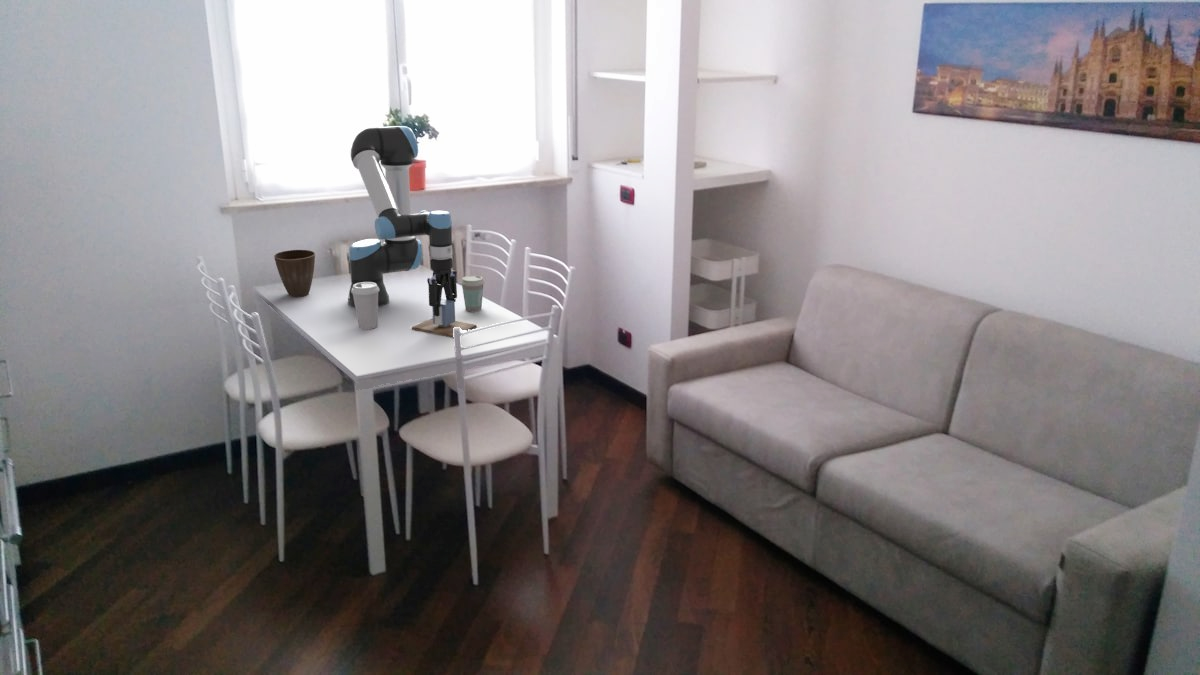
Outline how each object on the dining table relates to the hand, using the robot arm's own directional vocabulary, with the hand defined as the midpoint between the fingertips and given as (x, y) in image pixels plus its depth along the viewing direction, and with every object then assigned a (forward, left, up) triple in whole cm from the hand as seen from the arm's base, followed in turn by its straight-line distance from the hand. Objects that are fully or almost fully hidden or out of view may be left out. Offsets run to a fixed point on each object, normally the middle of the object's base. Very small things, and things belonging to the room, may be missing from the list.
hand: (444, 321), depth 319 cm
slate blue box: (0, 0, 0) cm, 0 cm away
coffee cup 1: (-24, -12, -2) cm, 27 cm away
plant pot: (-73, +4, -2) cm, 73 cm away
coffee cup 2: (-4, +23, -2) cm, 23 cm away
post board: (0, 0, -2) cm, 2 cm away
